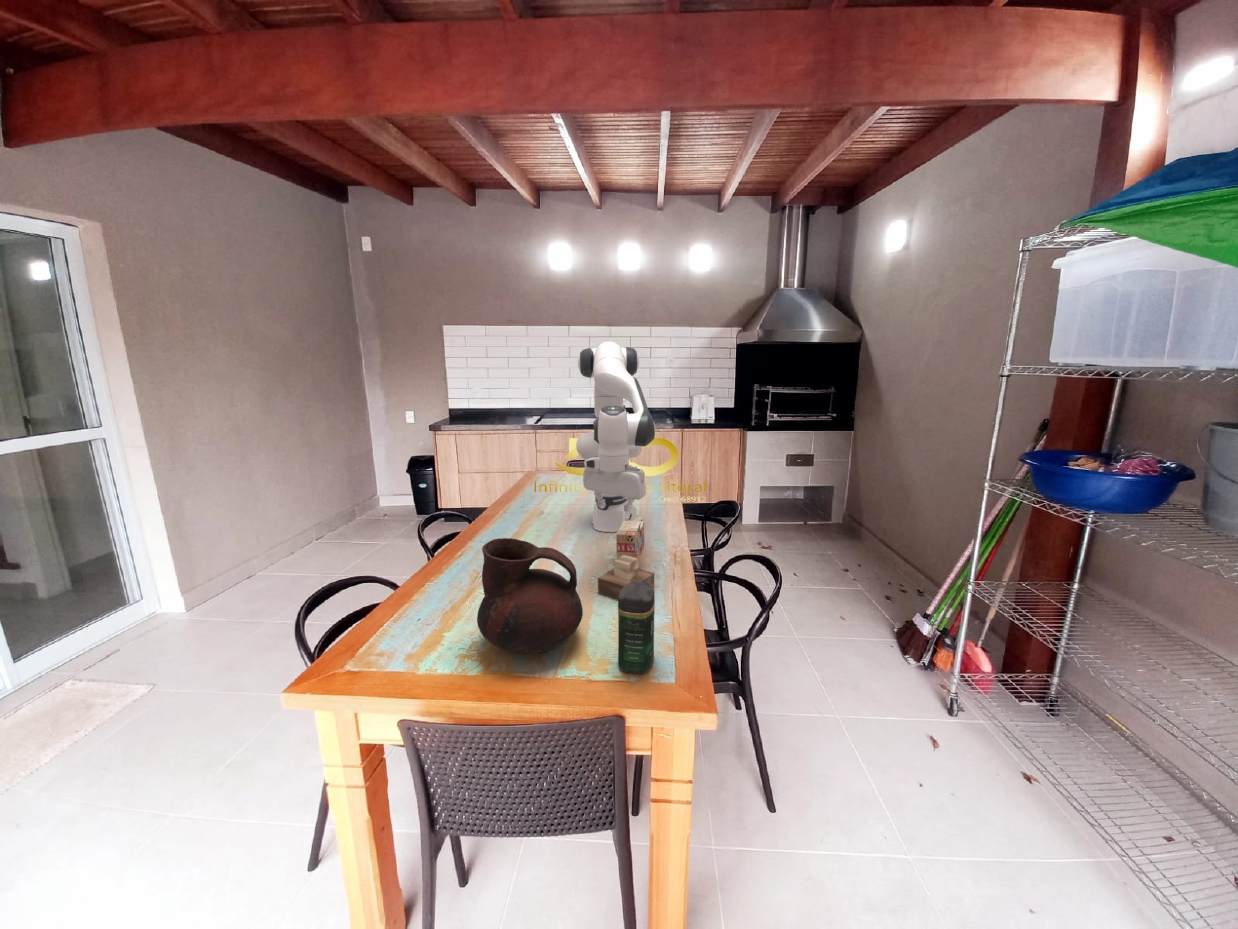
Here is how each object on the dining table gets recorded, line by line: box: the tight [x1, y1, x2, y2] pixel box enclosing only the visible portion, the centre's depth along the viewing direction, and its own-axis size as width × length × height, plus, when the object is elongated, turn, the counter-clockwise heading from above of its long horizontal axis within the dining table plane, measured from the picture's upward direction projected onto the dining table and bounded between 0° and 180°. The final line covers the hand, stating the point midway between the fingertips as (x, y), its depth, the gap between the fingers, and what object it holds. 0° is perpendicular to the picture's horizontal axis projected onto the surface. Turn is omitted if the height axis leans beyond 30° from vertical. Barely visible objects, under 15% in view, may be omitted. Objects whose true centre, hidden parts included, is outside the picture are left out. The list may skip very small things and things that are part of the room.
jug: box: [476, 537, 584, 655], centre depth 118 cm, size 25×25×25 cm
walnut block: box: [597, 567, 655, 601], centre depth 144 cm, size 12×12×5 cm
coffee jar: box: [617, 581, 656, 675], centre depth 110 cm, size 10×8×19 cm
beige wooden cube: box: [613, 555, 639, 581], centre depth 143 cm, size 5×5×5 cm
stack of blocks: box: [615, 520, 645, 562], centre depth 169 cm, size 21×6×12 cm, turn 169°
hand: (614, 508), depth 145 cm, fingers open, 8 cm apart
